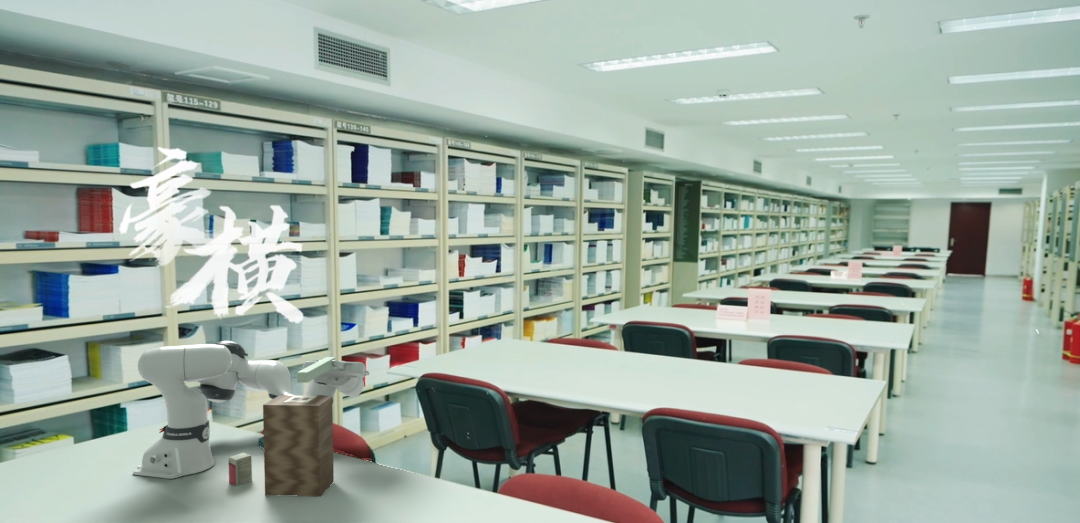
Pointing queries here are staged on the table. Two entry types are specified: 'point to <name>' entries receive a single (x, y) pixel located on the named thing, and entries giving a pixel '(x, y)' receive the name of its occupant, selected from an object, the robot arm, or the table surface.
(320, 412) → the stand
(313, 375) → the bar
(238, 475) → the small box
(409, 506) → the table surface
